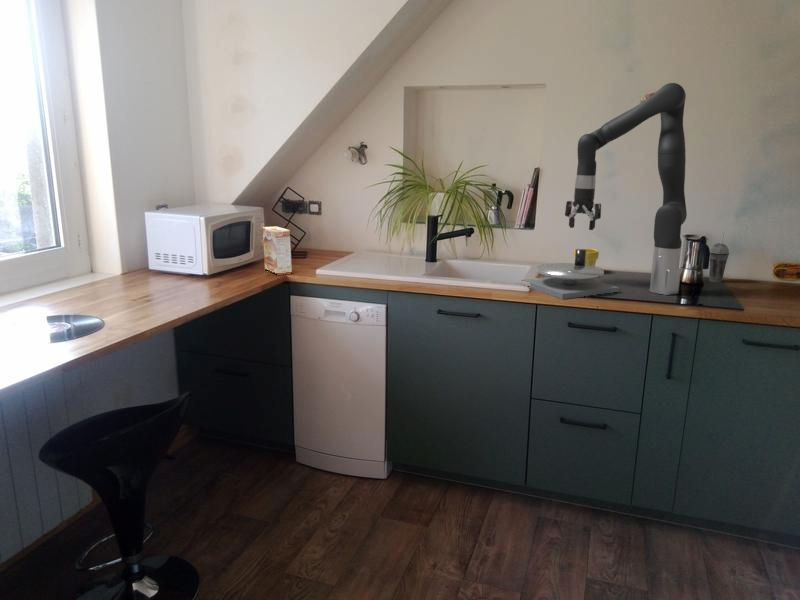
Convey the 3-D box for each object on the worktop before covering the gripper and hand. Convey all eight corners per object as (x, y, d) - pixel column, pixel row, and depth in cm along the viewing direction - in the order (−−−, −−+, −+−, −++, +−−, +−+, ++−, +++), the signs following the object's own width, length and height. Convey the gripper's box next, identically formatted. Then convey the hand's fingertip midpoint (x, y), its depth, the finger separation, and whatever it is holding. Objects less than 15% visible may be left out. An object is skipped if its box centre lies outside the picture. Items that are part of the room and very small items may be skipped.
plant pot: (576, 274, 260) (577, 252, 258) (569, 269, 270) (571, 248, 268) (600, 274, 260) (602, 252, 258) (592, 269, 270) (594, 248, 268)
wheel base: (618, 292, 228) (619, 277, 226) (562, 299, 218) (563, 283, 217) (573, 279, 251) (574, 265, 250) (521, 284, 241) (521, 270, 240)
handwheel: (617, 276, 227) (619, 256, 225) (563, 281, 217) (565, 261, 215) (574, 264, 249) (575, 246, 247) (523, 269, 239) (524, 250, 238)
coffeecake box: (264, 270, 270) (261, 227, 266) (279, 268, 274) (277, 225, 270) (277, 276, 258) (274, 230, 254) (292, 274, 262) (290, 229, 257)
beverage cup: (701, 280, 249) (707, 231, 244) (713, 278, 252) (719, 230, 247) (717, 283, 243) (724, 234, 238) (729, 281, 246) (736, 233, 241)
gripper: (606, 187, 231) (602, 230, 236) (573, 185, 241) (570, 226, 246) (596, 188, 226) (592, 231, 231) (563, 186, 236) (560, 227, 241)
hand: (581, 228), depth 238 cm, fingers open, 8 cm apart
